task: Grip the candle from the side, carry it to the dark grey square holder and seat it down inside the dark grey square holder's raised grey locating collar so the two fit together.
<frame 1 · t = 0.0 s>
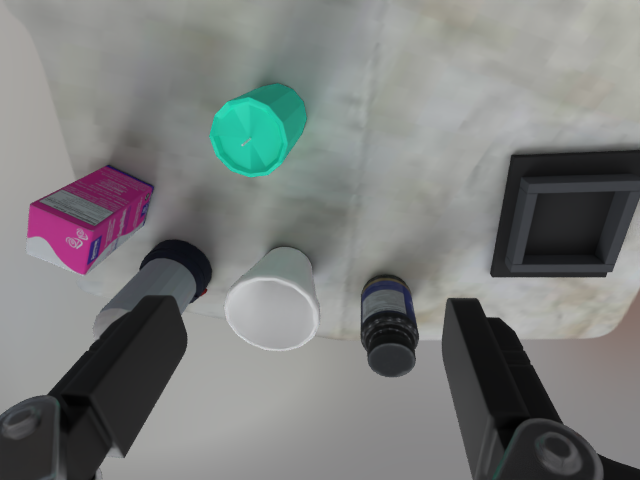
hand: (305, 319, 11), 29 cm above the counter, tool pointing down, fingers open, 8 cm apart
candle: (277, 115, 36), on the counter
pill bottle: (385, 292, 45), on the counter
dark grey square holder: (559, 218, 38), on the counter
supplement box: (128, 195, 43), on the counter
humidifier: (182, 266, 47), on the counter
cup: (288, 266, 45), on the counter
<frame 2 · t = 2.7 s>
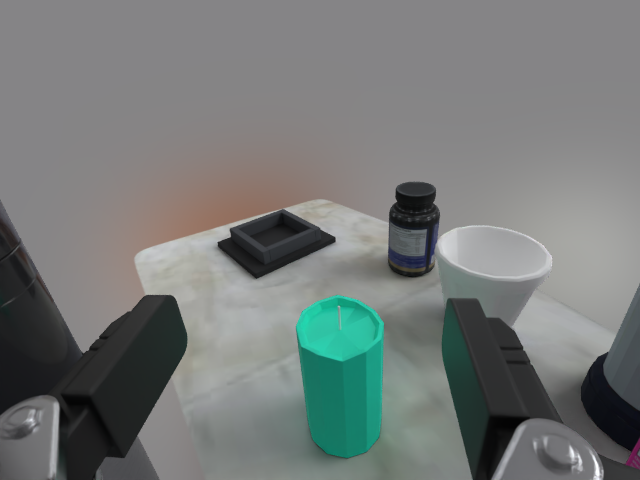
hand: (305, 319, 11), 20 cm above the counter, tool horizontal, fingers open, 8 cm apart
candle: (344, 422, 30), on the counter
pill bottle: (410, 266, 49), on the counter
dark grey square holder: (276, 244, 56), on the counter
cup: (476, 325, 38), on the counter
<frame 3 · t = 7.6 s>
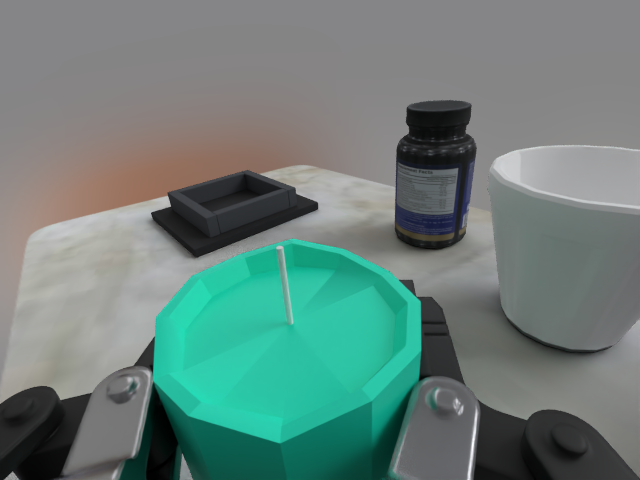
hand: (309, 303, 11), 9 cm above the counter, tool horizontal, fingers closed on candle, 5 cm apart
pill bottle: (428, 235, 33), on the counter
dark grey square holder: (234, 214, 40), on the counter
cup: (555, 319, 22), on the counter
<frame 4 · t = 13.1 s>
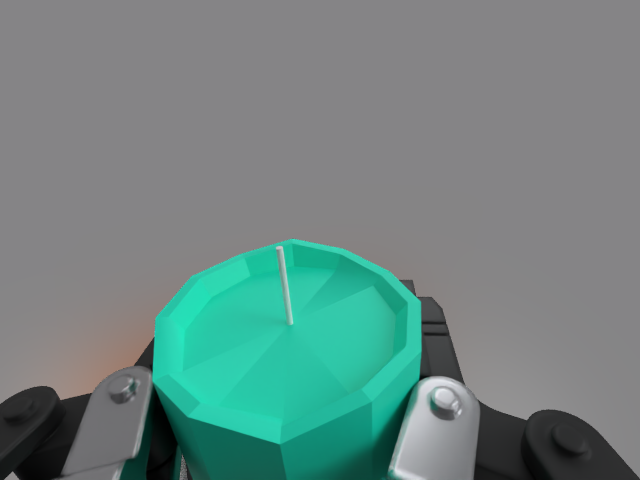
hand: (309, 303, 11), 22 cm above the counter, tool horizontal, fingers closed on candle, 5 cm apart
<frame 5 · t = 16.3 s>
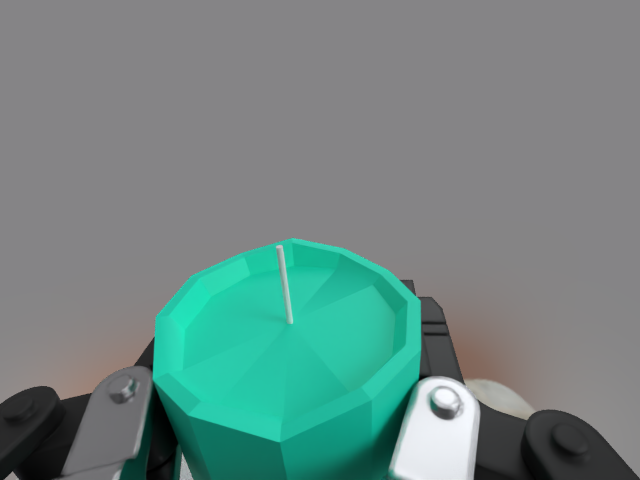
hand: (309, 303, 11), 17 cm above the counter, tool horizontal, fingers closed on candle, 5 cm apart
when the fingers open (9 cm above the counter, at t = 18.7 s): candle stays where it is, resting on dark grey square holder.
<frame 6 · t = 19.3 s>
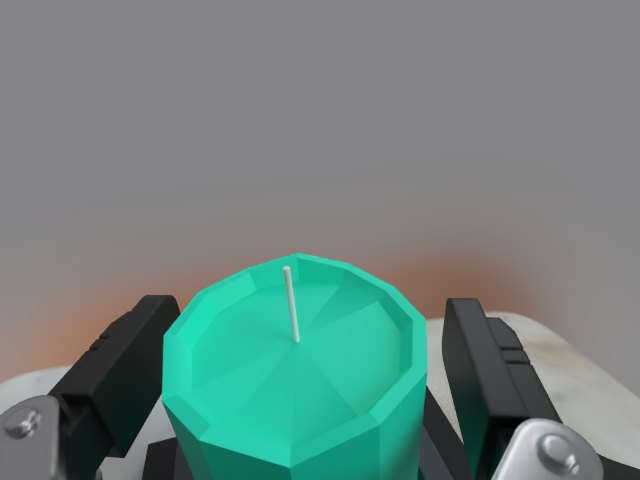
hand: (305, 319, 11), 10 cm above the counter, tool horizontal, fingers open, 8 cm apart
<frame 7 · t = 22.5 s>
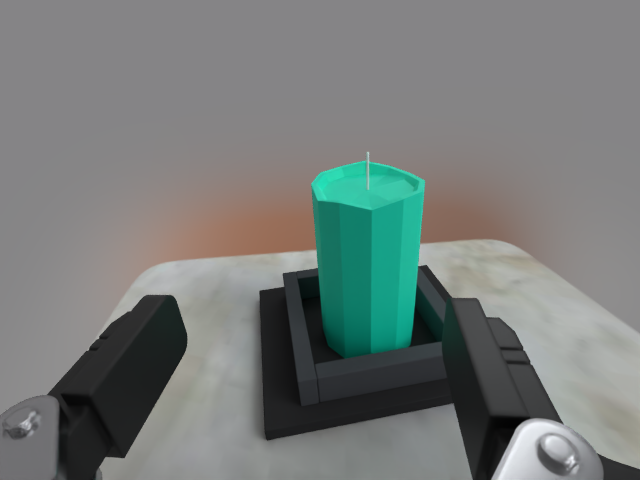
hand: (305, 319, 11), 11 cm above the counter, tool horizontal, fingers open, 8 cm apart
candle: (367, 330, 24), point 1 cm above the counter, touching dark grey square holder
dark grey square holder: (365, 336, 25), on the counter
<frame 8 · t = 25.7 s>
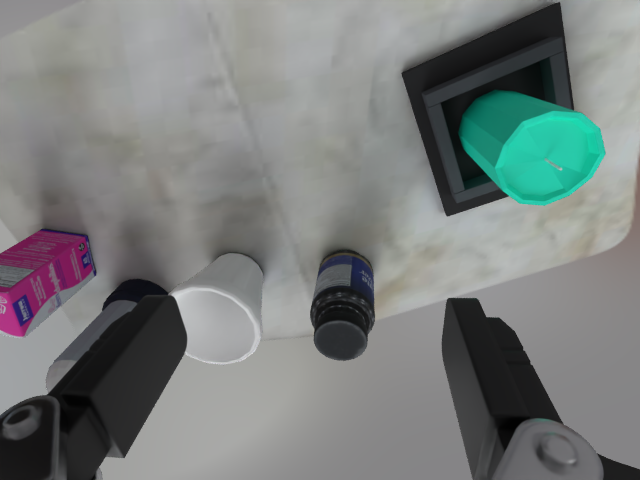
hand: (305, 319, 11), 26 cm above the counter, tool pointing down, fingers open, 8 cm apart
candle: (493, 126, 31), point 1 cm above the counter, touching dark grey square holder
pill bottle: (345, 270, 41), on the counter
dark grey square holder: (492, 123, 32), on the counter
supplement box: (72, 250, 44), on the counter
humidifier: (147, 304, 47), on the counter
cup: (238, 273, 43), on the counter
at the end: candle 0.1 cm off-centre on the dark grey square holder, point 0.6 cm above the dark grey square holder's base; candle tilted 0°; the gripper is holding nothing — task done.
